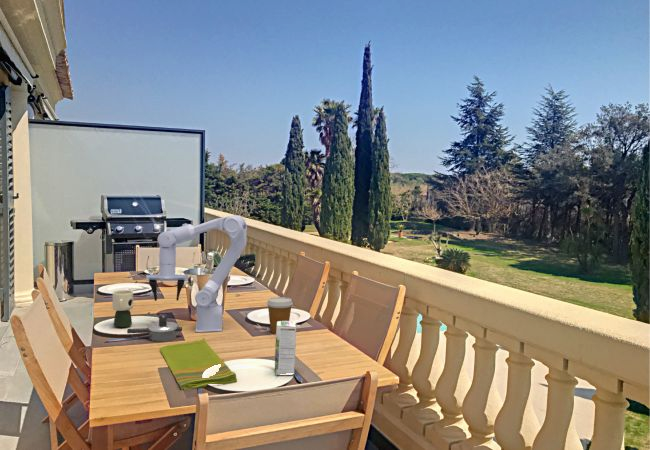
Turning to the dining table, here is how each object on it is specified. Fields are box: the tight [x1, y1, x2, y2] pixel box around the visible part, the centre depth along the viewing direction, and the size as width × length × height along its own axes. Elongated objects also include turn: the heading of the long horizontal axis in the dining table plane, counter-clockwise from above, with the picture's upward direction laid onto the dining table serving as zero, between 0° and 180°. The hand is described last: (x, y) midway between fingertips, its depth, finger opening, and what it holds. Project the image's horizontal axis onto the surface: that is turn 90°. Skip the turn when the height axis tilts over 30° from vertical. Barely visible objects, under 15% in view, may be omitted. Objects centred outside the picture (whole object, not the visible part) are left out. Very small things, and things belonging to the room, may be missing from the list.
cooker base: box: [126, 326, 183, 342], centre depth 178 cm, size 18×9×4 cm, turn 104°
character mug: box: [112, 289, 134, 329], centre depth 190 cm, size 11×7×13 cm, turn 13°
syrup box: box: [274, 320, 297, 377], centre depth 149 cm, size 6×6×14 cm
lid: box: [147, 314, 179, 332], centre depth 178 cm, size 10×10×5 cm
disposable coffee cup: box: [266, 296, 293, 335], centre depth 189 cm, size 10×10×12 cm
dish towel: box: [159, 338, 238, 391], centre depth 153 cm, size 15×36×3 cm, turn 27°
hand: (166, 300), depth 190 cm, fingers open, 7 cm apart
